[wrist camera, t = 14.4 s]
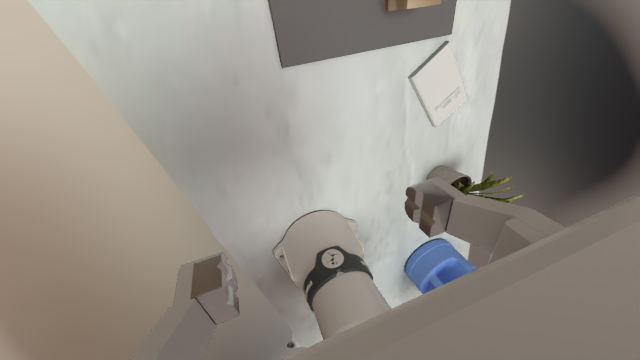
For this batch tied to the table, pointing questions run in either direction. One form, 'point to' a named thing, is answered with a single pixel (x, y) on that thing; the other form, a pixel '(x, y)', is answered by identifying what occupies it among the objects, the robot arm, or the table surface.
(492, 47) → the table surface
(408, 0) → the maple block
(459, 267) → the water jug
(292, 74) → the table surface
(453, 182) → the house plant
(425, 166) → the table surface
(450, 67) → the external hard drive
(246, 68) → the table surface
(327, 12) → the rubber mat
